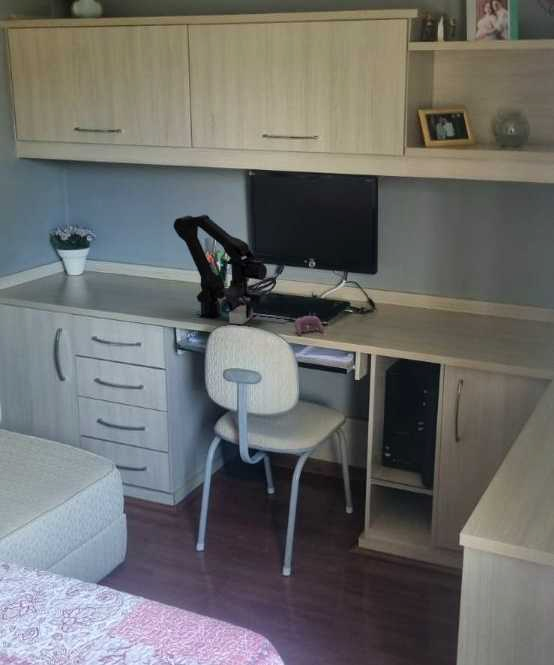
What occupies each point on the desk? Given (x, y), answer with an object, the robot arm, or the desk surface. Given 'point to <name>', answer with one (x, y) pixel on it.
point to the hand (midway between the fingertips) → (241, 317)
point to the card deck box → (239, 315)
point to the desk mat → (270, 319)
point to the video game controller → (310, 320)
